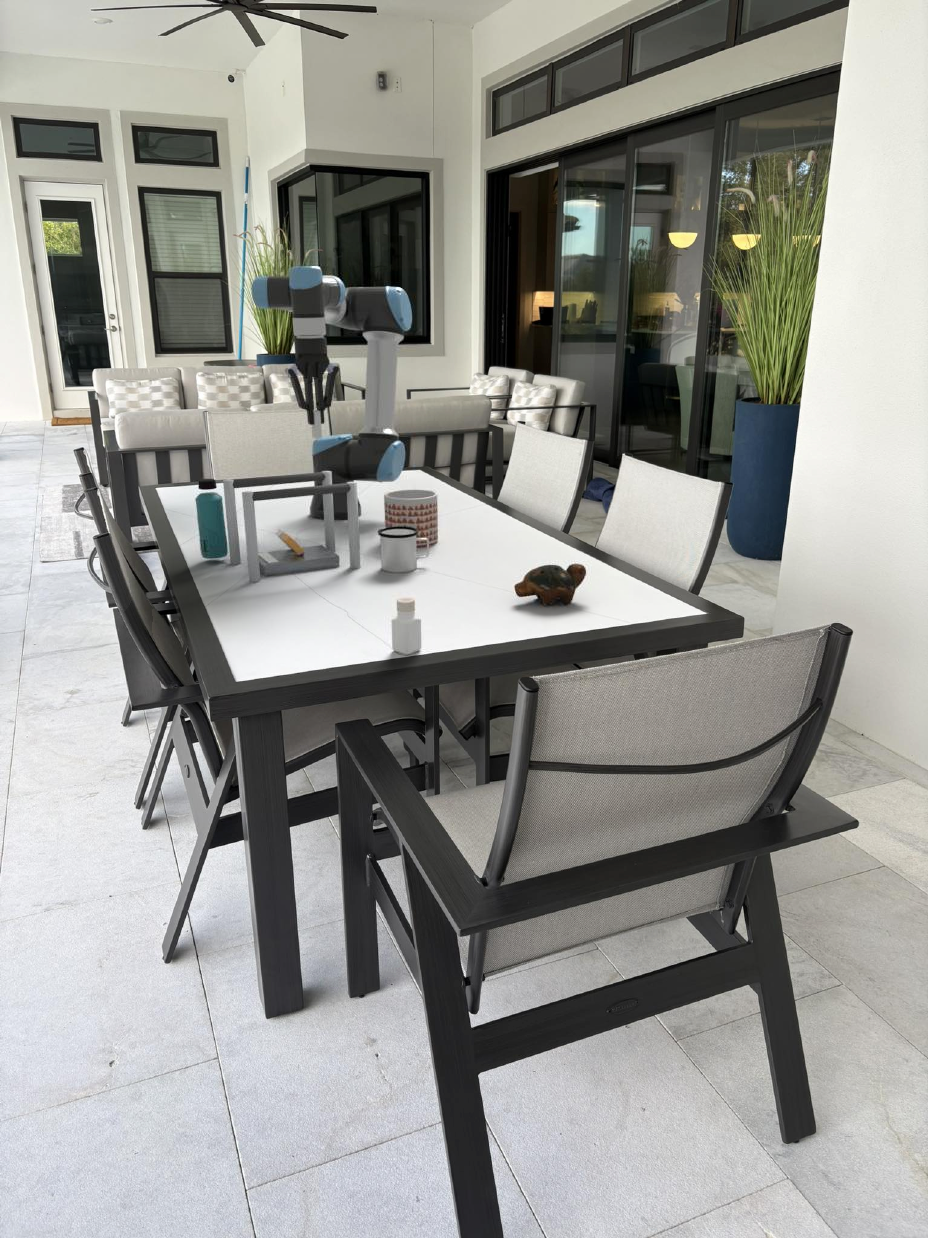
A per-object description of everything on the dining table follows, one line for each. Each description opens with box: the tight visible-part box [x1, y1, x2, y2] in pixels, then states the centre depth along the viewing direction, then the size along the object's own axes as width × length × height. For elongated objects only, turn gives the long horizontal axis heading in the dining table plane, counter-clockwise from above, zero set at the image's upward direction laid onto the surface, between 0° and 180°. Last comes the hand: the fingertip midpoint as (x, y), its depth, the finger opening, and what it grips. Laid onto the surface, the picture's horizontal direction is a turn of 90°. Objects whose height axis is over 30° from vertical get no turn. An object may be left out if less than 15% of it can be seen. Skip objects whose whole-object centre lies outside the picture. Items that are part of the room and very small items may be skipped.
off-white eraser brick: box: [274, 528, 293, 550], centre depth 216 cm, size 2×3×6 cm
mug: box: [377, 526, 430, 574], centre depth 209 cm, size 12×10×9 cm
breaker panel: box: [258, 544, 340, 577], centre depth 212 cm, size 18×12×3 cm, turn 118°
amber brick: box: [280, 533, 304, 555], centre depth 211 cm, size 2×3×6 cm
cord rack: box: [222, 471, 361, 583], centre depth 209 cm, size 26×19×20 cm
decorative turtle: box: [514, 563, 587, 607], centre depth 184 cm, size 10×15×8 cm, turn 107°
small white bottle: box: [391, 596, 422, 656], centre depth 157 cm, size 4×4×10 cm
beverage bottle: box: [194, 478, 229, 560], centre depth 213 cm, size 6×7×20 cm
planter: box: [383, 488, 439, 549], centre depth 232 cm, size 14×14×13 cm
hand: (317, 437), depth 218 cm, fingers closed
